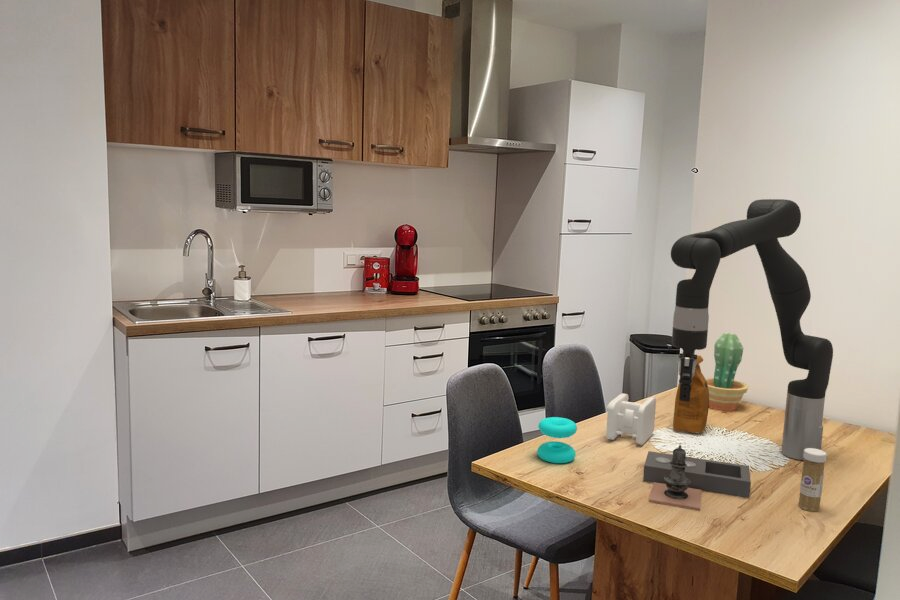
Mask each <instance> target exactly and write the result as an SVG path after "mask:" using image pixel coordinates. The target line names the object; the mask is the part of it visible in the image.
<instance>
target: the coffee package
mask: <svg viewBox="0 0 900 600" xmlns="http://www.w3.org/2000/svg"><path fill="white" fill-rule="evenodd" d="M703 361H704V357H702V356H701V355H697V364H696V368H695V375H694V376H693V377H692V386H691V392H690V400H689V401H688V402H686V401H680V399H679V396H680V383H679V382H678V387H677V390H676V395H675V400H674V410H673V418H672V419H673V423H672V429H673V431H675V432H684V433H685V432H687V433H692V434H702V433H703V431H705V428H706V426H707V422H708V414H709V408H710V407H709V389H708V384H707V381H706V379H707V378H705V376H704V374H703V372H702V370H701V366H700V364H701V363H702V362H703Z"/></svg>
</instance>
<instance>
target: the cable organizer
mask: <svg viewBox="0 0 900 600" xmlns="http://www.w3.org/2000/svg"><path fill="white" fill-rule="evenodd" d="M629 397H630V396H629V394H627V393H623V392H622V393H619V395H617V396H616V397H615V398H614V399H612V400H611V401H610V402H608V405H606V411H607V415H606V416H607V417H606V431H605V433H606V435H605V437H606V439H608V440H611V441H614V440H615V439H616V438H617V437H619V435H621V436H620V437H621V438H623V435H624V434H626V435H631V439H634V438H635V440H636V441H635V442H636V444H638V445H639V446H643V445H644V444H645V443H646V442H647V441H648V440H649V438H651V436H652V435H653V433H654V430H655V424H656V423H655V421H656V419H655V418H656V408H657V407H656V406H657V405H656V404H657V400H656V399H657V398H656V397H648V398H647V399H646V400H645V401H644V402H643V403H638V402H631V401H629Z"/></svg>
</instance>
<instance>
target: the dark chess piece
mask: <svg viewBox="0 0 900 600" xmlns="http://www.w3.org/2000/svg"><path fill="white" fill-rule="evenodd" d="M672 455H673V458H672V462H670V464H671V465H672V466H671V473H670V475H667V476H665V477H664V480H665V484H666V486H667V488H668V490H666V491H664V494H665V495H666V496H668V497H670V498H674V499H686V498H687V497H688V495H687V493H685V492H684V491H685V490H687V488H688V487H689V484H690V482H691V481H690V480H689V479H688V478H686V477H685V467H686V466H687V464H685V460H686V457H687V451H686V450H684V449H683V448H682V445H681V444H679V445H678V447H677V448H674V449H673V451H672Z"/></svg>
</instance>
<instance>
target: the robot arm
mask: <svg viewBox="0 0 900 600" xmlns="http://www.w3.org/2000/svg"><path fill="white" fill-rule="evenodd" d="M801 221H802V212H801V209H800V206H799V205H798V204H797V203H796V202H795V201H793V200H791V199H783V198H782V199H779V198H778V199H777V198H776V199H775V198H773V199H771V198H770V199H768V198H767V199H765V198H764V199H756V200H754V201H752V202H751V203H750V204H749V205H748V207H747V211H746V219H739V220H734V221H730V222H727V223H724V224H721V225H718V226H717V227H714V228H712V229H711V230H706V231H700V232H696V233H692V234H691V233H690V234H687V235H684V236H681V237H680V238H678V239H677V240H676V241H675V242H674V243H673V245H672V246H671V249H670V258H671V261H672V262H673V263H674V264H675V265H676V266H677V267H679V268H682V269H689V270H695V271H694V274H693V275H692V278H688V279H686V278H685V279H682V280H679V281H678V283H677V284H676V294H675V306H674V313H673V318H672V319H673V321H672V333H671V335H672V336H671V345H672V346H673V347H675V348H677V349H681V350H682V352H679V354H678V361H677V362H678V375H679V378H678V379H679V380H678V384H679V383H680V396H679V399H680V401H686V402H688V401H689V400H690V392H691V386H692V377H693V376H694V375H695V368H696V364H697V356H698V354H695V351H696V350H698V351H701V350H704V349H706V348H707V345H708V344H707V343H708V333H709V331H708V330H709V321H710V320H709V319H710V316H709V315H710V314H709V303H710V302H709V301H710V292H711V291H710V290H711V288H712V284H713V281H714V278H715V276H716V272H717V270H718V267H719V264H720V263H721V259H725V258H727V257H729V256H731V255H734V254H735V253H737V252H740V251H742V250H744V249H746V248H749V247H752V246H754V247H755V249H756V251H757V253H758V256H759V259H760V262H761V265H762V268H763V271H764V274H765V278H766V283H767V286H768V289H769V294H770V297H771V300H772V303H773V306H774V309H775V313H776V318H777V323H778V326H779V332H780V338H781V345H782V351H783V355H784V359H785V360H786V362H787V364H788V365H790V367H791V366H792V367H794V368H797V369H800V370H801V369H802V370H805V371H808V373H807V376H806V377H805V378H803V379H794V380H791V381H789V382H788V384H787V393H786V401H785V411H784V423H783V431H782V441H781V442H782V443H781V454H782V455H783V456H785V457H787V458H790V459H793V460H799V461H804V459H803V458H804V457H803V454H804V450H805V449H806V448H815V449H819V450H822V442H823V433H824V426H823V418H824V411H825V410H824V409H825V400H826V392H827V389H828V386H829V384H830V383H829V382H830V374H831V370H832V364H833V357H834V347H833V344H832V342H831V341H830V339H827V338H824V337H819V336H814V335H813V336H812V335H809V334H808V335H807V334H805V333H803V330H802V327H801V319H802V316H803V315H804V313H805V312H806V309H807V308H808V306H809V304H810V301H811V298H812V295H811V289H810V286H809V281H808V277H807V275H806V272H805V270H804V269H803V268H802V267H801V265H800V264H799V263H798V262H797V260H795V259H794V258H793V257H792V256H791V255H790V254H789V253H788V252H787V251H786V250H785V249H784V248H783V247H782V245H781V243H780V241H779V239H781V238H786V237H789V236H791V235H793V234H795V232H797V231H798V229H799V227H800V224H801Z"/></svg>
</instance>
